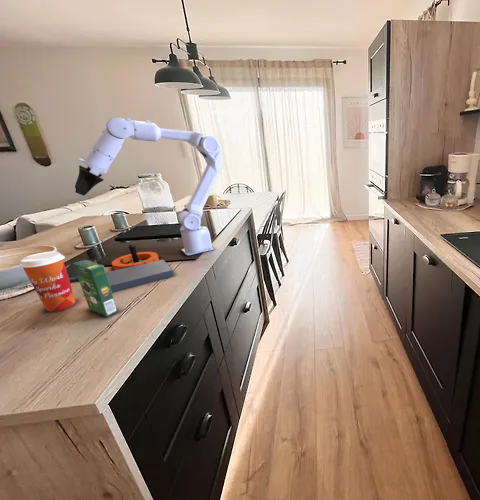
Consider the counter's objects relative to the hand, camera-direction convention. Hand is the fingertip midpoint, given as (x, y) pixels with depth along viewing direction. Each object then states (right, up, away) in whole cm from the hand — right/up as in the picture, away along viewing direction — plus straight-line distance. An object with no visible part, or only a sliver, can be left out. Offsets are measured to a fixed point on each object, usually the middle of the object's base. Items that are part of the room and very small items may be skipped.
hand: (79, 191), depth 87 cm
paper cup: (+7, -32, -12) cm, 35 cm away
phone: (-8, -25, +7) cm, 27 cm away
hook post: (+7, -22, +14) cm, 27 cm away
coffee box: (+20, -33, -14) cm, 41 cm away
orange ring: (+7, -22, +14) cm, 27 cm away
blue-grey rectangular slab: (+16, -26, +4) cm, 31 cm away
